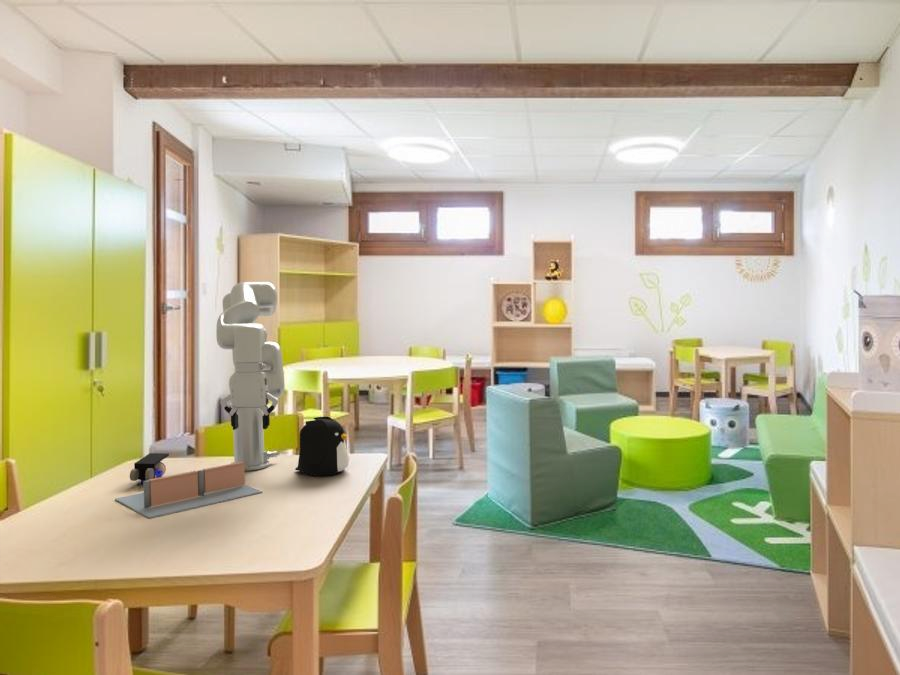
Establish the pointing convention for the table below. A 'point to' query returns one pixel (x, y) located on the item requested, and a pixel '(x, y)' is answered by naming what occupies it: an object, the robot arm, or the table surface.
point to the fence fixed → (173, 488)
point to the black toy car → (148, 467)
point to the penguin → (322, 448)
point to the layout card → (186, 501)
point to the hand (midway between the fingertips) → (250, 428)
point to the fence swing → (223, 477)
